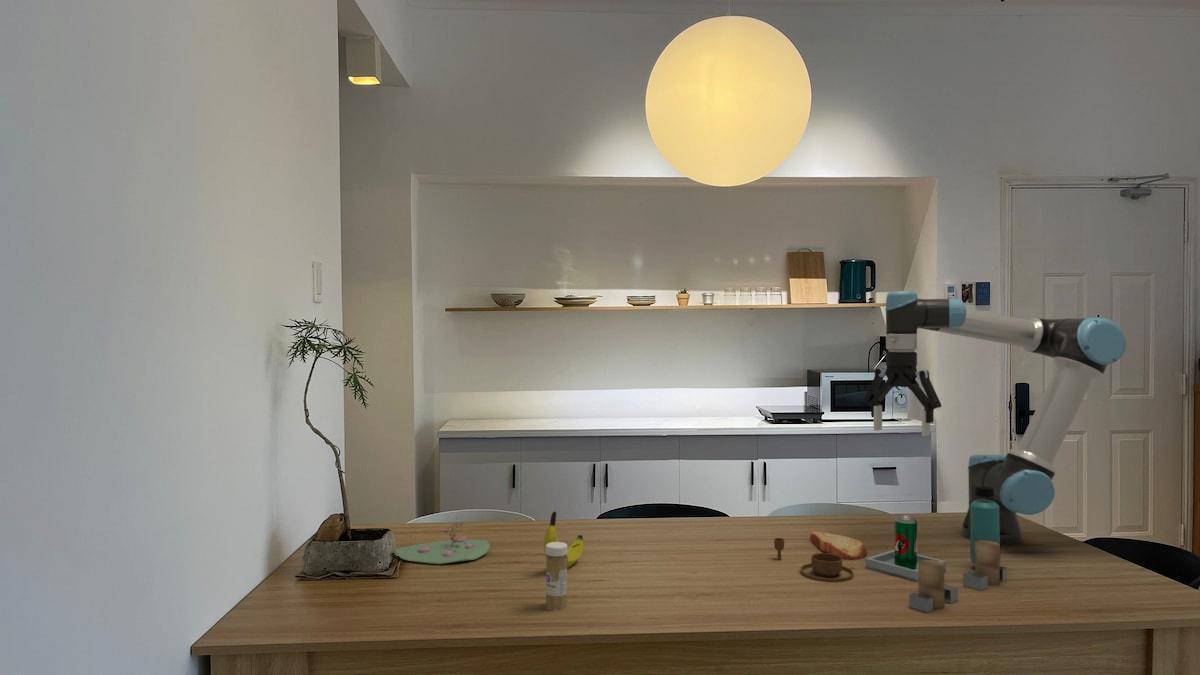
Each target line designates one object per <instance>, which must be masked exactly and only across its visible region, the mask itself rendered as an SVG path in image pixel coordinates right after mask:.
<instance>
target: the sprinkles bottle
mask: <svg viewBox="0 0 1200 675" xmlns="http://www.w3.org/2000/svg"><path fill="white" fill-rule="evenodd" d="M568 548H569V547H568V544H567V543H565V542H561V541H559V542H551V543H548V544H546V549H545V551H544V553H545V556H546V565H545V568H546V573H545V574H546V575H545V594H546V596H545V597H546V598H545V599H546V600H545V601H546V602H545V609H547V610H548V611H552V612H554V611H557V612H559V611H563V610H566V609H567V608H568V604H567V602H568V601H567V600H568V597H567V596H568V595H567V594H568V568H567V553H568Z"/></svg>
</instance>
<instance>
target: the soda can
mask: <svg viewBox="0 0 1200 675" xmlns="http://www.w3.org/2000/svg"><path fill="white" fill-rule="evenodd" d="M916 519H917V518H916V517H915V516H913V515H910V514H898V515H897V514H896V516H895V519H894V525H893V526H894V533H893V535H894V536H893V538H894V539H893V540H894V542H893V544H894V545H893V546H894V549H893V550H894V564H895V565H898V566H901V567H905V568H909V569H915V568H916V567H917V554H918V522H917V520H916Z"/></svg>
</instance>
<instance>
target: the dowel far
mask: <svg viewBox="0 0 1200 675" xmlns="http://www.w3.org/2000/svg"><path fill="white" fill-rule="evenodd" d="M1000 559H1001V558H1000V544H998V543H996V542H992V541H985V540H979V541H975V565H974V572H976V573H980V574H984V575H988V586H995V587H996V586H999V585H1000V582H1001V581H1000V566H1001V565H1000V564H1001V560H1000Z"/></svg>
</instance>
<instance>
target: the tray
mask: <svg viewBox="0 0 1200 675" xmlns="http://www.w3.org/2000/svg"><path fill="white" fill-rule="evenodd" d="M920 560H935V561H939V562H942V563H944V573H945V572H946V571H947V561H946V560H944V559H943V560H942V559H938V558H934V557H931V556H926V555H922V554H918V553H917V567H916V568H915V569H909V568H905V567H901V566H898V565H895V564H894V549H891V550H889V551H885V552H882V553H878V554H876V555H873V556H870V557H866V558H865V569H867V570H871V571H875V572H879V573H882V574H885V575H889V576H891V577H892V576H893V577H896V578H900V579H904V580H907V581H911V582H914V581H915V582H914V583H918V561H920Z"/></svg>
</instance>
